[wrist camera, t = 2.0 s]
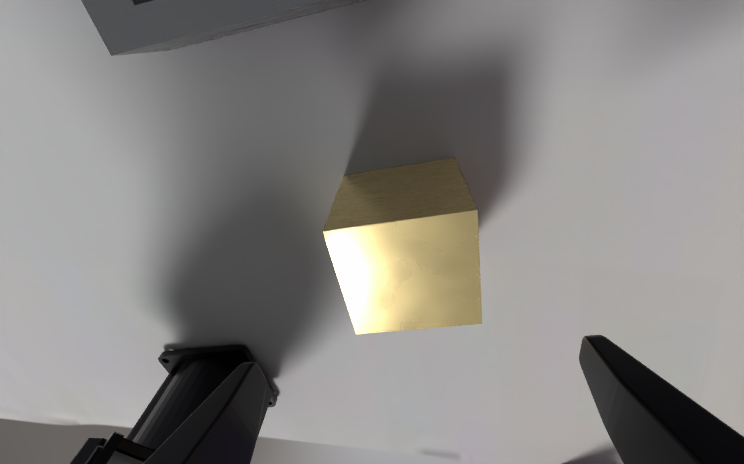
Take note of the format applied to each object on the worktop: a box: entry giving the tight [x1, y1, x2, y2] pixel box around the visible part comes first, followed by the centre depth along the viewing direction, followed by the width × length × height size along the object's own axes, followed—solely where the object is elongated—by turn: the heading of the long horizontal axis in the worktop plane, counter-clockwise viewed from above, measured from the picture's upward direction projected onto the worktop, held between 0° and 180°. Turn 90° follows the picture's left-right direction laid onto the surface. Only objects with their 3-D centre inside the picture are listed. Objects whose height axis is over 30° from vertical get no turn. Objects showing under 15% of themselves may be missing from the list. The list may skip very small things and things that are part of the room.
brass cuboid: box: [323, 157, 482, 334], centre depth 14 cm, size 5×5×5 cm
